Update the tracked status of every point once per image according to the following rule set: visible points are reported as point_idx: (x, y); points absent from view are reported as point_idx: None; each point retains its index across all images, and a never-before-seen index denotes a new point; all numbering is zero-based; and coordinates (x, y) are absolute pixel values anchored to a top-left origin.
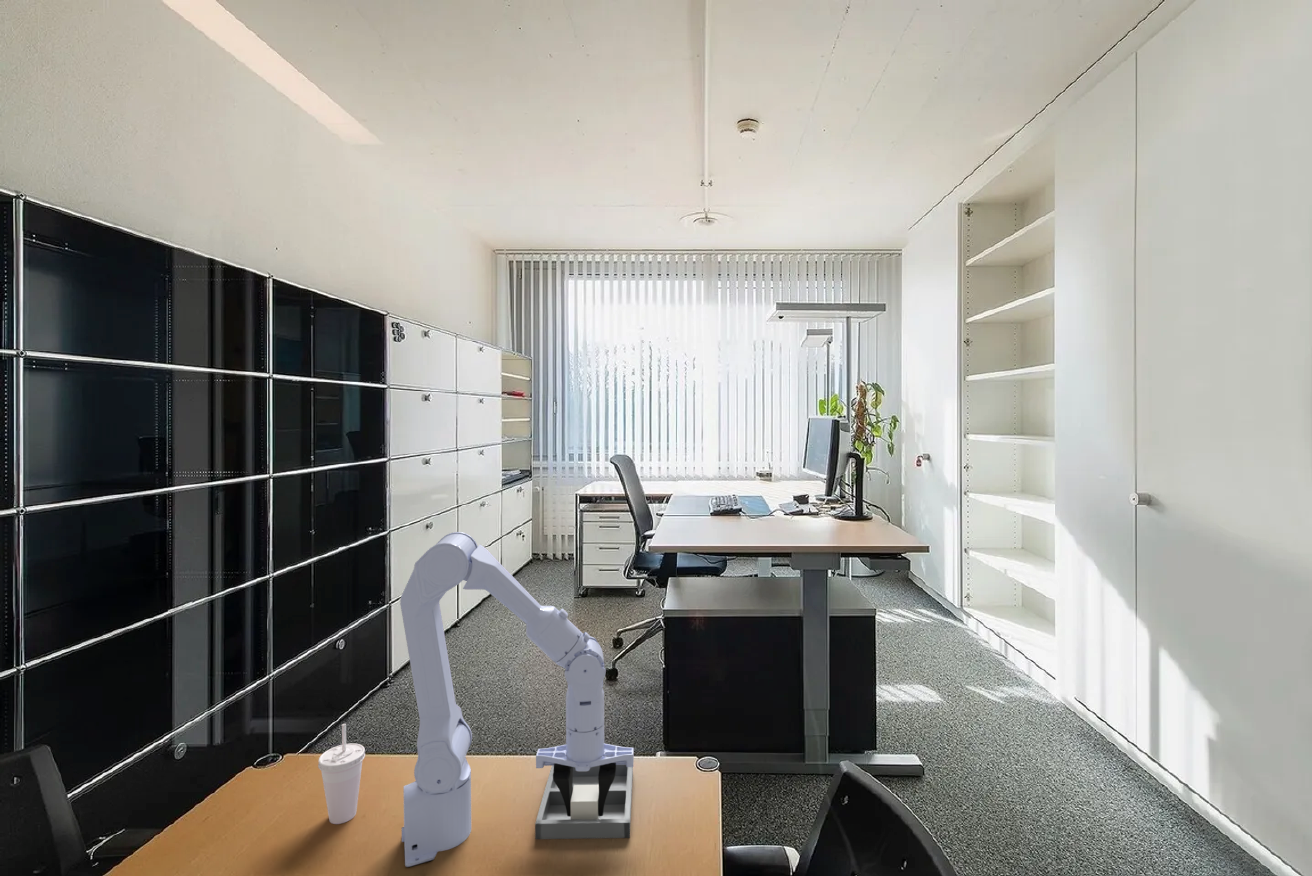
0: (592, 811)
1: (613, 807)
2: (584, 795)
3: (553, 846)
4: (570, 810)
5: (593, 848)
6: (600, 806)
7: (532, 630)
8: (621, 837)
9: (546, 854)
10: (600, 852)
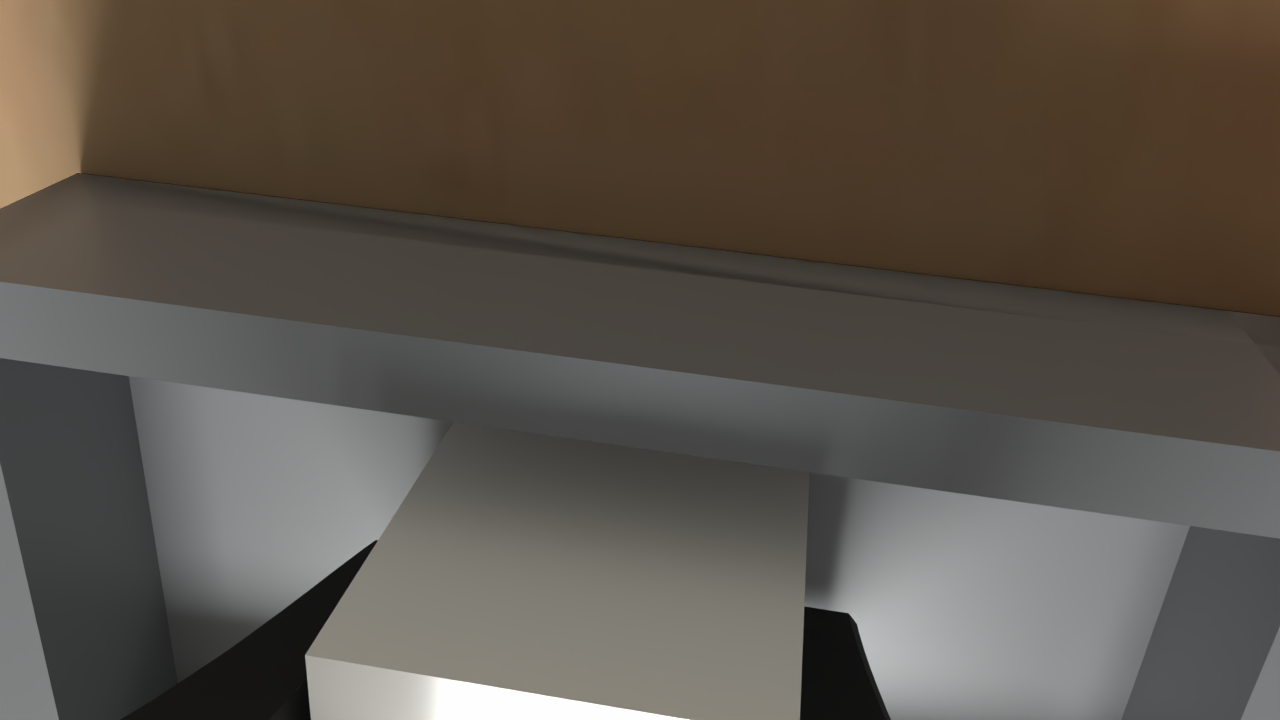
0: (454, 561)
1: None
2: None
3: (1050, 254)
4: (807, 658)
5: (511, 147)
6: (327, 616)
7: None
8: (132, 208)
9: (1164, 114)
10: (414, 62)
